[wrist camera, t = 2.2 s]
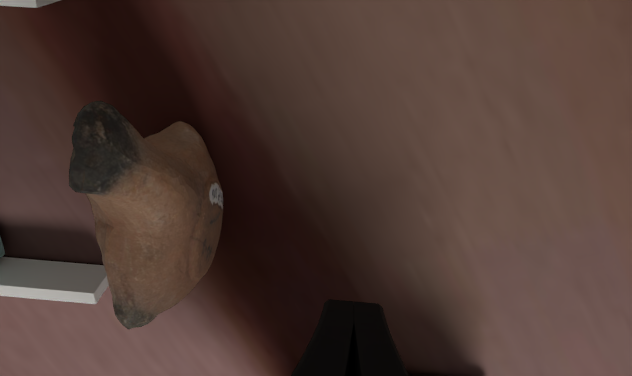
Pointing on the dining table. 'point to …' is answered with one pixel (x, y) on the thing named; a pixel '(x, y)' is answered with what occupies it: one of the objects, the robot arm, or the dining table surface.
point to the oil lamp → (147, 208)
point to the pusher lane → (50, 275)
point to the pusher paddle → (1, 248)
